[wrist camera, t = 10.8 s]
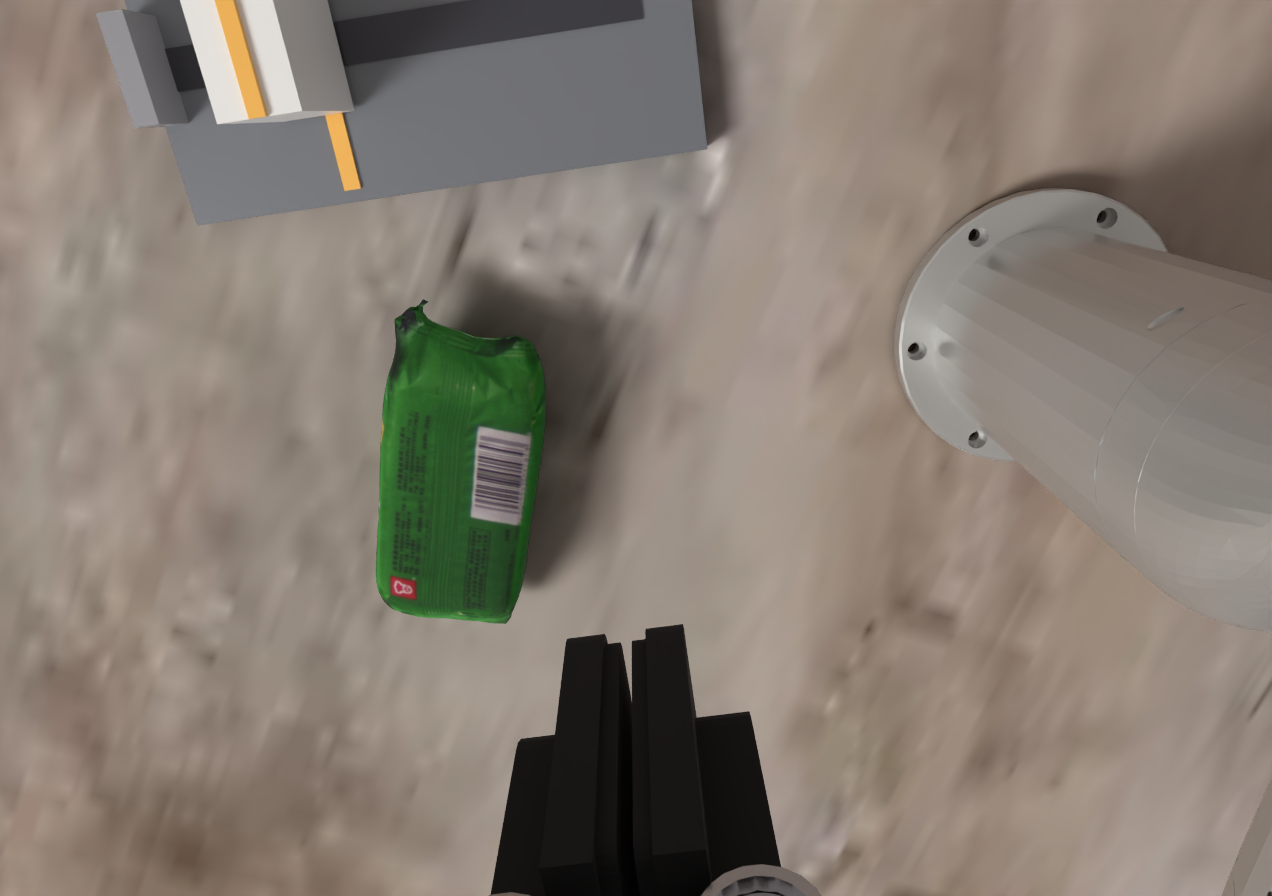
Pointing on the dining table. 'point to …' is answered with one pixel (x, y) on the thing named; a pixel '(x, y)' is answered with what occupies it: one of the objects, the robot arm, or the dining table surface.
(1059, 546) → the dining table surface
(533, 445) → the snack package
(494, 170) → the console
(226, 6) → the fader tab
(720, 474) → the dining table surface
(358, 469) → the dining table surface
